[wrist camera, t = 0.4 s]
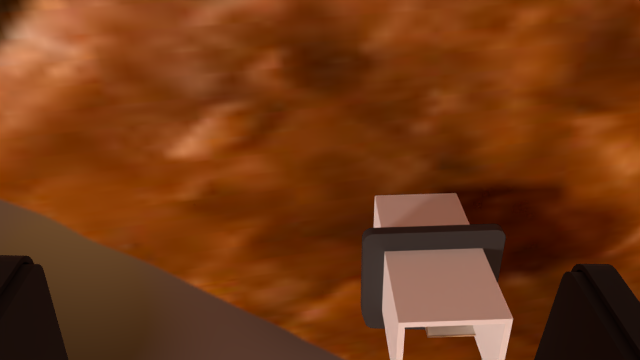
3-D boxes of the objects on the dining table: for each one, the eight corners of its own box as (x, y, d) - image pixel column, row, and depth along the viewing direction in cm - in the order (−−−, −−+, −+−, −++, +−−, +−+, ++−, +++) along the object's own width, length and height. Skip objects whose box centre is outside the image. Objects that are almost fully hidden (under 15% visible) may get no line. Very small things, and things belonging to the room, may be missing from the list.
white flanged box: (288, 320, 60) (283, 466, 46) (273, 110, 48) (260, 222, 34) (523, 312, 61) (589, 455, 47) (568, 100, 48) (678, 208, 34)
